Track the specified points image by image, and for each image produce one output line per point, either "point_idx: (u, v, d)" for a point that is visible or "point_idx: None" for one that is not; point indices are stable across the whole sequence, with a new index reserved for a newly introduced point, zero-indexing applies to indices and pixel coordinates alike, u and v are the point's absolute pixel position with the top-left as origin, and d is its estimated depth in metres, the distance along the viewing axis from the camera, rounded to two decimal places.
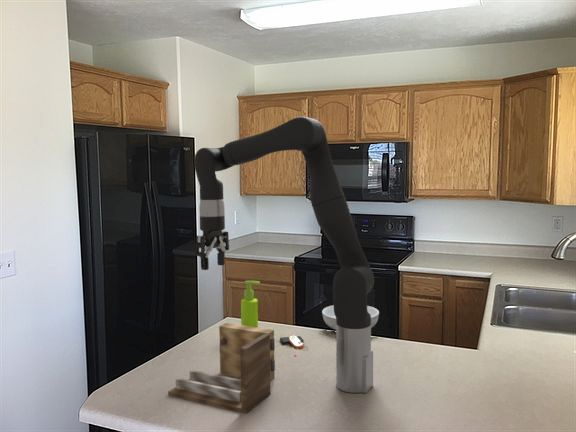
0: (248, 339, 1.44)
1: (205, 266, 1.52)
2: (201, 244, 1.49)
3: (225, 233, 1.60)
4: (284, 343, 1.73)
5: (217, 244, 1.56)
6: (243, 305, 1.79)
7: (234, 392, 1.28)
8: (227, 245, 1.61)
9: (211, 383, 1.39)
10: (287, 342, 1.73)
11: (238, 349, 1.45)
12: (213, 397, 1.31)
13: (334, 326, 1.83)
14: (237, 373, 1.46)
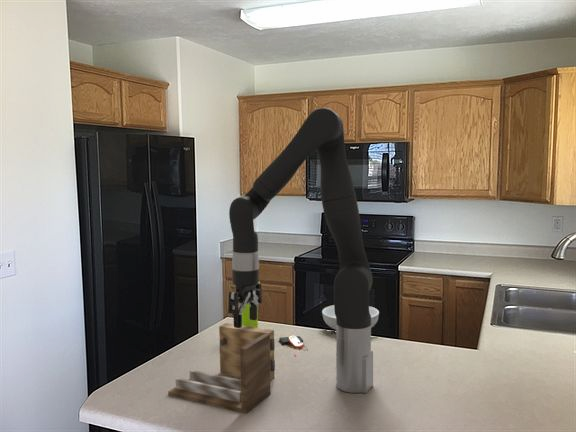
0: (248, 339, 1.44)
1: (238, 324, 1.41)
2: (235, 301, 1.39)
3: (258, 285, 1.50)
4: (284, 343, 1.73)
5: (250, 299, 1.46)
6: None
7: (234, 392, 1.28)
8: (260, 298, 1.50)
9: (211, 383, 1.39)
10: (287, 342, 1.73)
11: (238, 349, 1.45)
12: (213, 397, 1.31)
13: (334, 326, 1.83)
14: (237, 373, 1.46)
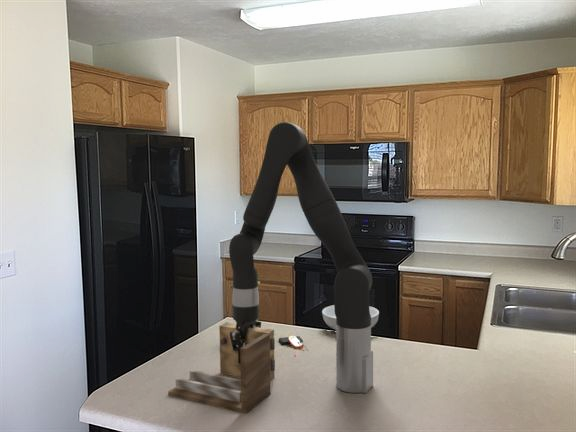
0: (248, 338, 1.44)
1: None
2: (237, 342, 1.40)
3: (258, 323, 1.50)
4: (283, 343, 1.73)
5: None
6: None
7: (234, 392, 1.28)
8: None
9: (211, 383, 1.39)
10: (286, 342, 1.73)
11: None
12: (213, 397, 1.31)
13: (334, 326, 1.83)
14: (237, 372, 1.46)
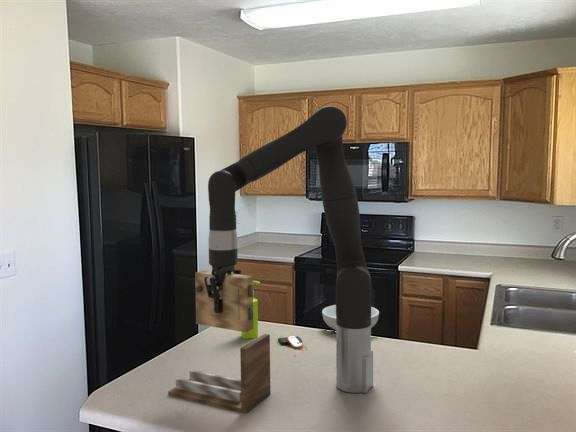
0: (225, 285, 1.33)
1: (219, 309, 1.33)
2: (212, 287, 1.30)
3: (237, 271, 1.40)
4: (283, 343, 1.73)
5: None
6: None
7: (234, 392, 1.28)
8: None
9: (211, 383, 1.39)
10: (286, 342, 1.73)
11: None
12: (213, 397, 1.31)
13: (334, 326, 1.83)
14: (214, 322, 1.36)
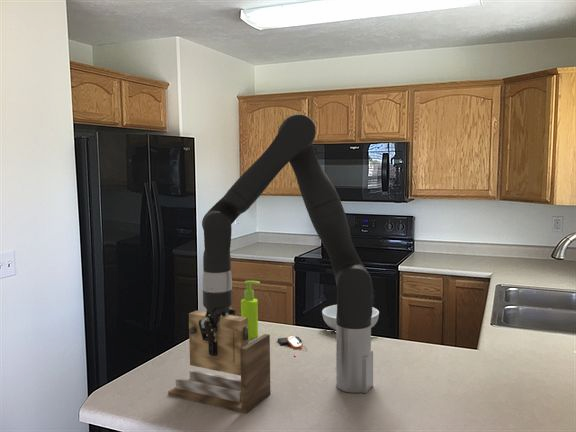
0: None
1: (213, 352, 1.31)
2: (207, 330, 1.27)
3: (232, 311, 1.38)
4: (282, 344, 1.73)
5: None
6: (243, 305, 1.79)
7: (234, 392, 1.28)
8: None
9: (211, 383, 1.39)
10: (285, 343, 1.73)
11: None
12: (213, 397, 1.31)
13: (334, 326, 1.83)
14: (208, 364, 1.34)
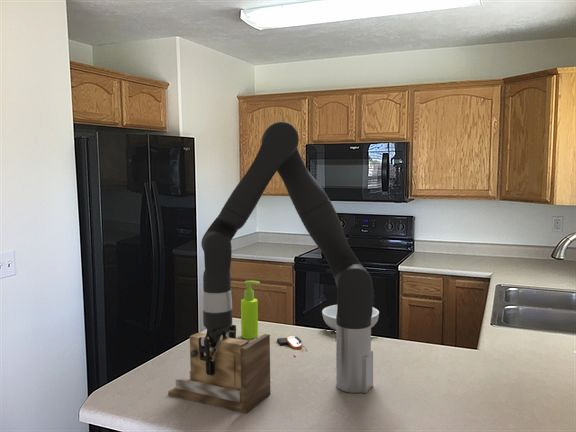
0: (220, 350, 1.31)
1: (211, 371, 1.30)
2: (205, 348, 1.27)
3: (232, 327, 1.38)
4: (282, 344, 1.72)
5: None
6: (243, 305, 1.79)
7: (234, 392, 1.28)
8: None
9: None
10: (285, 343, 1.73)
11: None
12: (213, 397, 1.31)
13: (334, 326, 1.83)
14: None
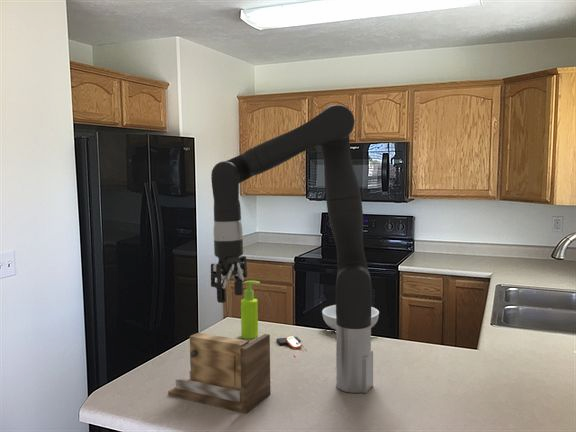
0: (220, 350, 1.31)
1: (222, 298, 1.31)
2: (217, 273, 1.29)
3: (243, 258, 1.40)
4: (281, 344, 1.72)
5: (234, 272, 1.36)
6: (243, 305, 1.79)
7: (234, 392, 1.28)
8: (245, 272, 1.41)
9: None
10: (284, 343, 1.73)
11: (210, 362, 1.33)
12: (213, 397, 1.31)
13: (334, 326, 1.83)
14: None
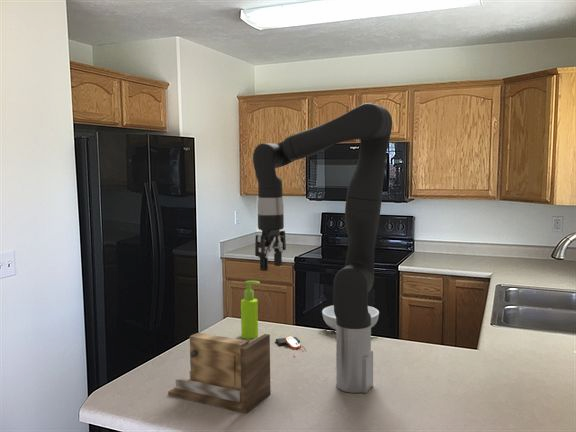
0: (220, 350, 1.31)
1: (265, 267, 1.45)
2: (261, 244, 1.43)
3: (282, 232, 1.54)
4: (281, 344, 1.72)
5: (275, 244, 1.50)
6: (243, 305, 1.79)
7: (234, 392, 1.28)
8: (284, 245, 1.54)
9: None
10: (284, 343, 1.72)
11: (210, 362, 1.33)
12: (213, 397, 1.31)
13: (334, 326, 1.83)
14: None
